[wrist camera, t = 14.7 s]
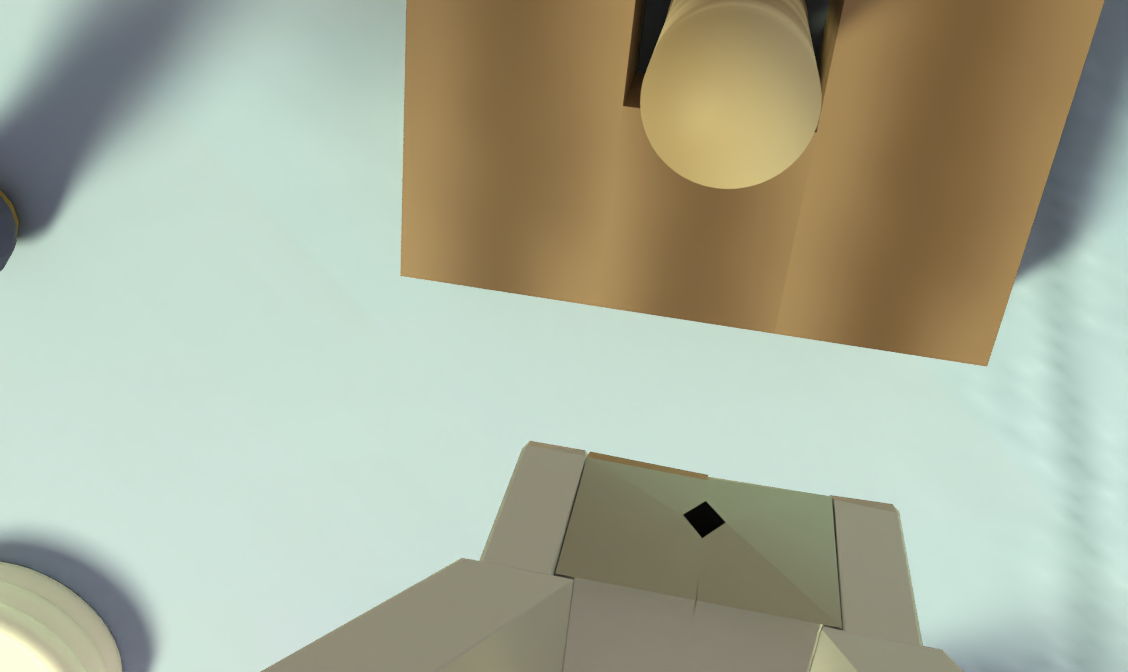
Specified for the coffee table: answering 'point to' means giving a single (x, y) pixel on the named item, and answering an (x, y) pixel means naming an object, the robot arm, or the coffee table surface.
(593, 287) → the walnut board
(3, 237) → the rubber mallet
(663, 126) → the maple dowel
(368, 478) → the coffee table surface
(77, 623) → the cream round disc
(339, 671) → the robot arm
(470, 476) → the coffee table surface
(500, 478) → the coffee table surface
